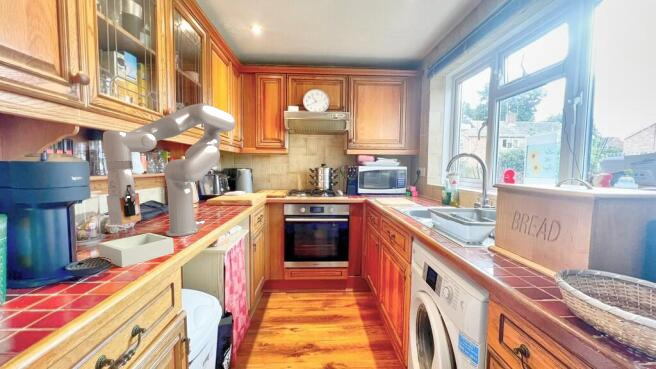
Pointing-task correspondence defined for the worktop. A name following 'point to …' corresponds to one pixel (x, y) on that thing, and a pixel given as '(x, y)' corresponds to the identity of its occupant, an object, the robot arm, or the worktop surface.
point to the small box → (121, 210)
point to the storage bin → (136, 249)
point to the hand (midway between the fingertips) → (125, 214)
